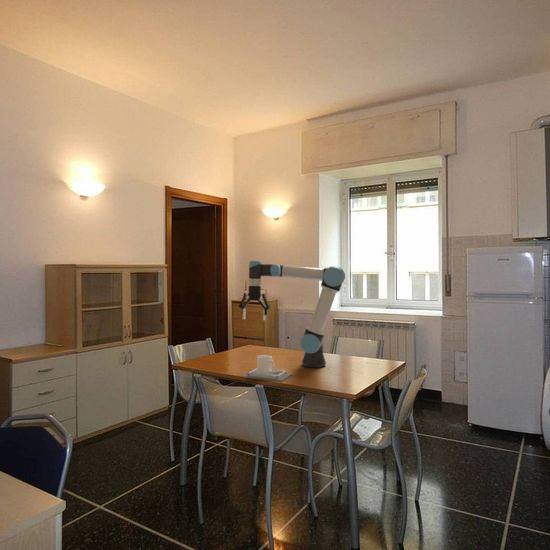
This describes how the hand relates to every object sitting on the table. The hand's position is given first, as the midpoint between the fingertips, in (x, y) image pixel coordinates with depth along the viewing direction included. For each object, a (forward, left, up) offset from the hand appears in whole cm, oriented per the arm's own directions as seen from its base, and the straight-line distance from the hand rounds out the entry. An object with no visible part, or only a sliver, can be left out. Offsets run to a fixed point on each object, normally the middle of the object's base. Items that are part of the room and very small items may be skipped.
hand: (254, 319), depth 277 cm
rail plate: (-18, +22, -29) cm, 40 cm away
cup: (-18, +23, -28) cm, 40 cm away
